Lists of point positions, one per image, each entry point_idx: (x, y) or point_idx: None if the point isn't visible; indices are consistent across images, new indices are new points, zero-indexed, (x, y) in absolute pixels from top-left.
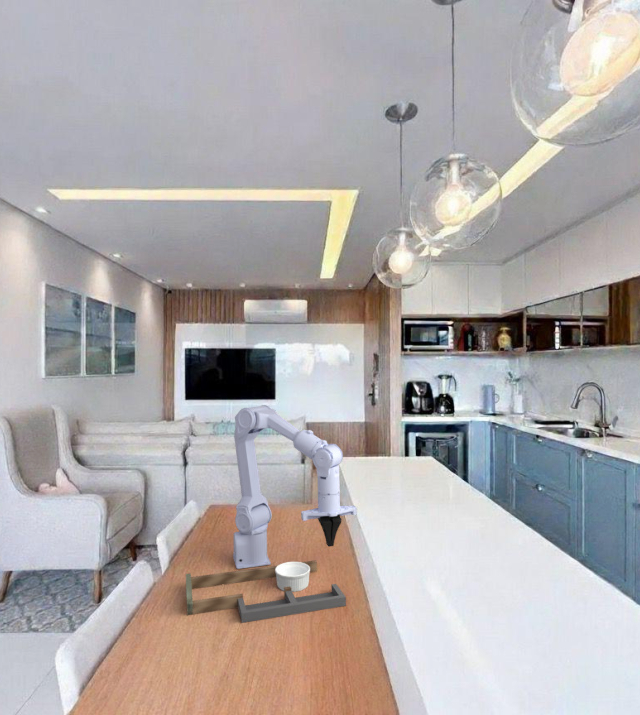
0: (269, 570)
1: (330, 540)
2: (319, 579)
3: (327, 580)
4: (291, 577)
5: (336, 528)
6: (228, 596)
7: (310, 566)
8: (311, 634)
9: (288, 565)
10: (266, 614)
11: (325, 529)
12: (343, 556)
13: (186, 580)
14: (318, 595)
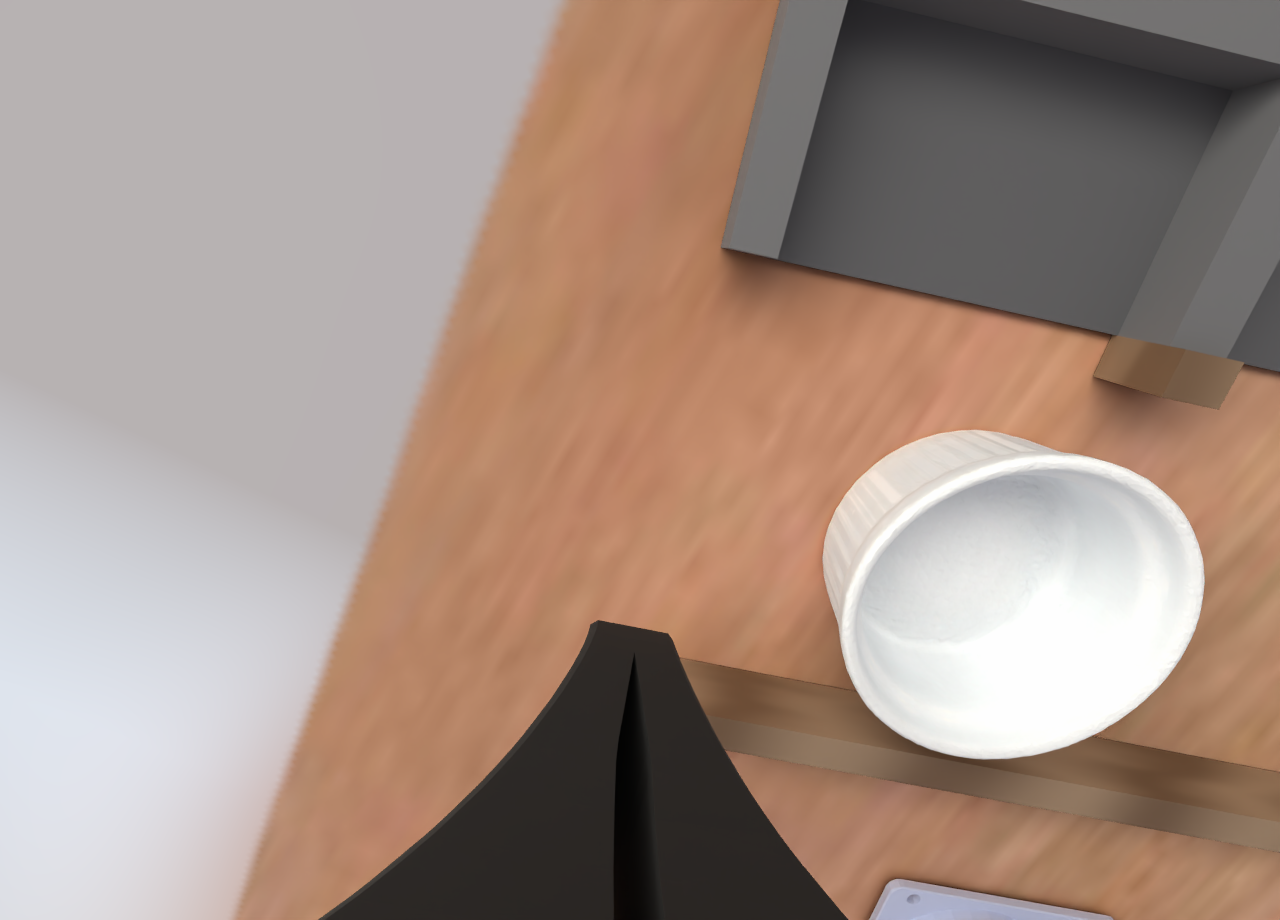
0: (1048, 767)
1: (653, 676)
2: (715, 528)
3: (668, 481)
4: (1136, 476)
5: (497, 829)
6: None
7: (711, 694)
8: None
9: (959, 723)
10: None
11: (826, 896)
12: (354, 763)
13: None
14: (903, 255)
